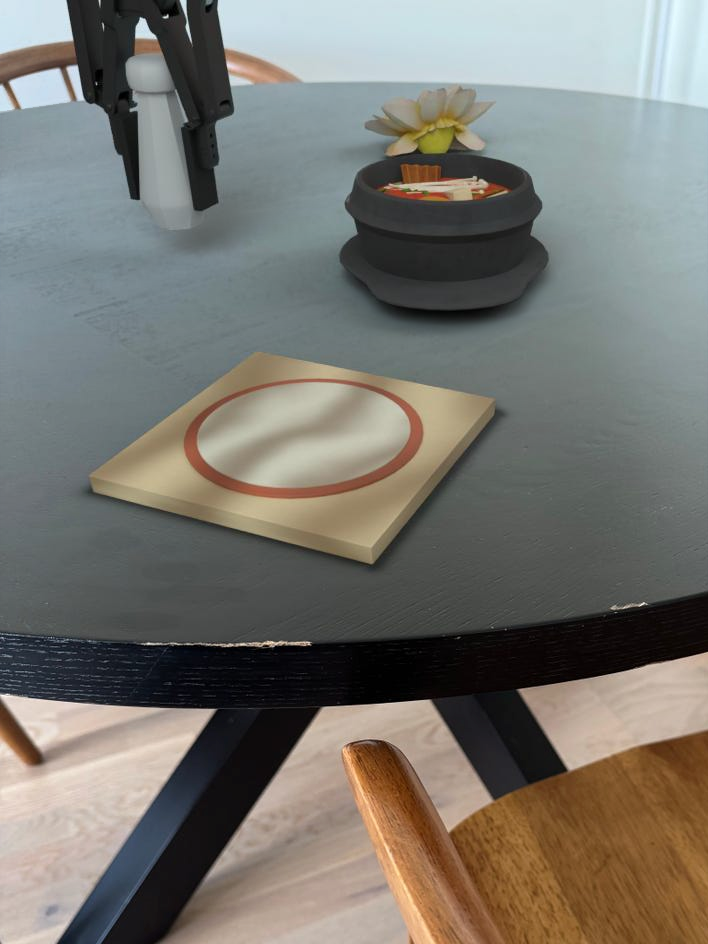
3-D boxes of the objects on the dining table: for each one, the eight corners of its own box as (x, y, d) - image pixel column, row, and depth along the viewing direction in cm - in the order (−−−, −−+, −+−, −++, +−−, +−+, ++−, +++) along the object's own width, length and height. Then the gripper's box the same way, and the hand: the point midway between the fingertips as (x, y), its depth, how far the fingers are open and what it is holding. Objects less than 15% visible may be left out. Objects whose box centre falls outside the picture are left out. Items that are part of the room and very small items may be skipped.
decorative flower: (474, 119, 121) (476, 33, 113) (505, 164, 115) (510, 78, 107) (361, 136, 118) (354, 50, 110) (387, 185, 112) (382, 97, 104)
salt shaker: (133, 220, 86) (99, 53, 77) (190, 207, 89) (164, 45, 80) (165, 238, 82) (134, 66, 74) (223, 224, 85) (200, 58, 77)
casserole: (346, 229, 94) (339, 136, 89) (532, 228, 96) (536, 136, 90) (334, 334, 76) (324, 225, 70) (565, 331, 77) (573, 223, 71)
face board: (93, 492, 58) (86, 471, 57) (258, 366, 71) (256, 347, 70) (372, 564, 53) (371, 542, 52) (494, 414, 66) (495, 394, 65)
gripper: (257, -130, 69) (289, 204, 84) (47, -144, 74) (113, 175, 89) (197, -126, 64) (243, 230, 79) (-25, -141, 69) (59, 197, 84)
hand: (174, 200), depth 84 cm, fingers closed on salt shaker, 6 cm apart
